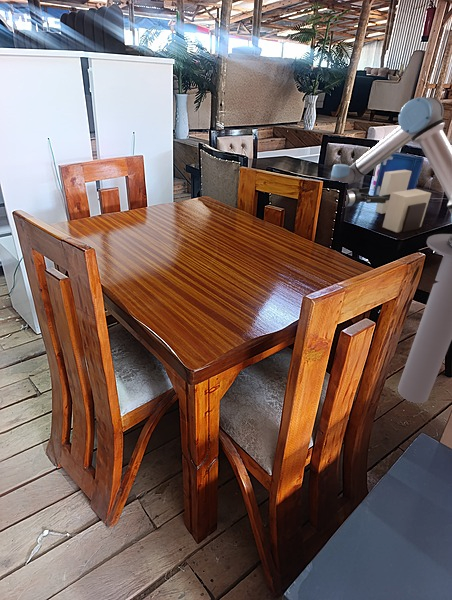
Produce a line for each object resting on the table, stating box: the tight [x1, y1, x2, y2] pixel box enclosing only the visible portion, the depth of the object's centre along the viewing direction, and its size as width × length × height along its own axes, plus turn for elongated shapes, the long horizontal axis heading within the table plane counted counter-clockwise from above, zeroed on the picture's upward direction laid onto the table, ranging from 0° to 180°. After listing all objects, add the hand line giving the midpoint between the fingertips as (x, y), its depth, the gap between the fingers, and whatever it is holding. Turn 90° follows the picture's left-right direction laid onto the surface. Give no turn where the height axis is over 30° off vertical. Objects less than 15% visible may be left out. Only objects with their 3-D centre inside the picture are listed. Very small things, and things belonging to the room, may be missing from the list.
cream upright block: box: [382, 188, 432, 233], centre depth 182 cm, size 9×18×16 cm, turn 122°
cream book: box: [375, 170, 412, 215], centre depth 203 cm, size 4×16×20 cm, turn 123°
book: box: [372, 151, 425, 196], centre depth 223 cm, size 22×7×25 cm, turn 58°
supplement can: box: [371, 163, 381, 191], centre depth 243 cm, size 8×8×15 cm
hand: (379, 193), depth 198 cm, fingers open, 13 cm apart
